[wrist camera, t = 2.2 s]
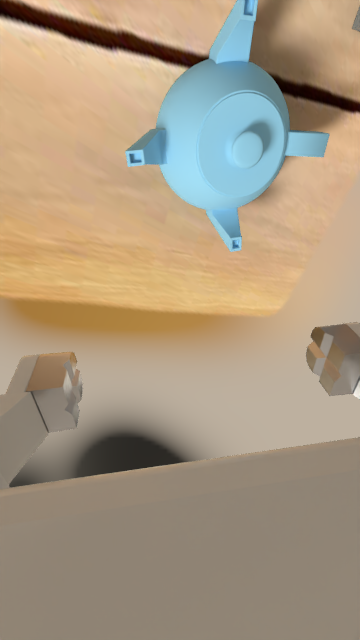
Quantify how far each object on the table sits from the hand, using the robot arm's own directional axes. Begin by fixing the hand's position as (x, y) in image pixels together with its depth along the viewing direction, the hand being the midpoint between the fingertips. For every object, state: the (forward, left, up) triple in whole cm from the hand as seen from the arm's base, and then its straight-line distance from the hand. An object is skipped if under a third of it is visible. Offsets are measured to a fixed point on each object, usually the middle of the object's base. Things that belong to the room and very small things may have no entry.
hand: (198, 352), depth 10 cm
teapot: (+9, -4, -31) cm, 32 cm away
